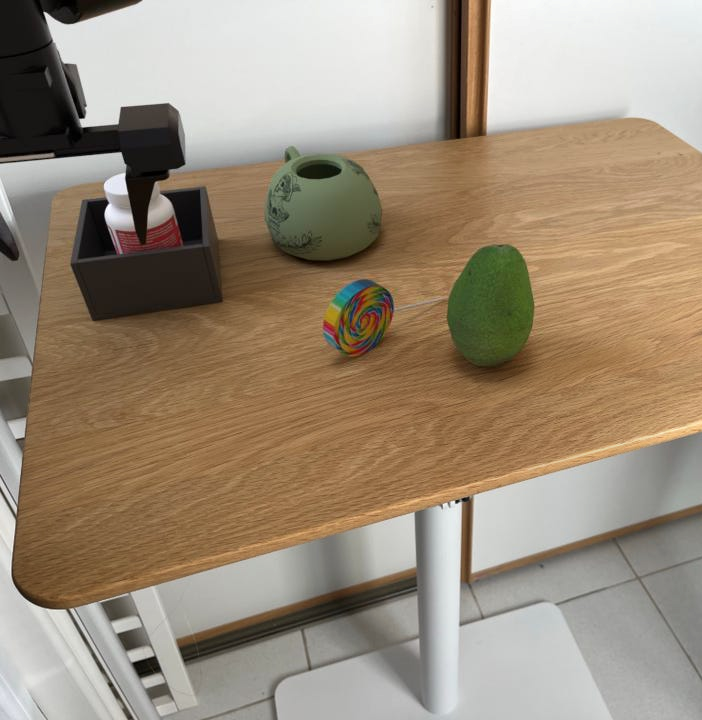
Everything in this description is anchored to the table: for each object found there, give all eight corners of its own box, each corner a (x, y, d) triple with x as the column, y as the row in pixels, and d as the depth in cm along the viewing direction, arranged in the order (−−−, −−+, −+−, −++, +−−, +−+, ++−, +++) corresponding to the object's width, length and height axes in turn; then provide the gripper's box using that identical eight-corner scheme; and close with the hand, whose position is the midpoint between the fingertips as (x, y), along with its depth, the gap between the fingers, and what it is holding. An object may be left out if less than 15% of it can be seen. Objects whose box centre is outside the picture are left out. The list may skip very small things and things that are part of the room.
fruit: (547, 358, 70) (561, 249, 62) (487, 397, 66) (492, 285, 58) (489, 319, 74) (495, 213, 66) (429, 353, 70) (427, 244, 62)
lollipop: (441, 332, 78) (328, 364, 67) (432, 326, 78) (317, 356, 67) (456, 269, 74) (339, 292, 63) (446, 263, 75) (329, 285, 64)
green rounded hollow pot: (404, 248, 84) (401, 177, 78) (296, 282, 78) (284, 208, 72) (342, 188, 94) (335, 122, 88) (242, 214, 88) (228, 145, 82)
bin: (92, 320, 72) (69, 263, 68) (101, 253, 81) (81, 199, 77) (222, 301, 75) (209, 245, 71) (218, 239, 84) (205, 185, 80)
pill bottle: (204, 277, 77) (179, 180, 70) (152, 305, 73) (120, 205, 66) (166, 256, 80) (139, 160, 73) (115, 282, 76) (80, 183, 69)
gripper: (159, 0, 56) (203, 188, 66) (-127, 14, 52) (-32, 213, 62) (156, 49, 48) (207, 255, 58) (-183, 71, 44) (-63, 290, 54)
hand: (81, 250), depth 58 cm, fingers open, 9 cm apart
